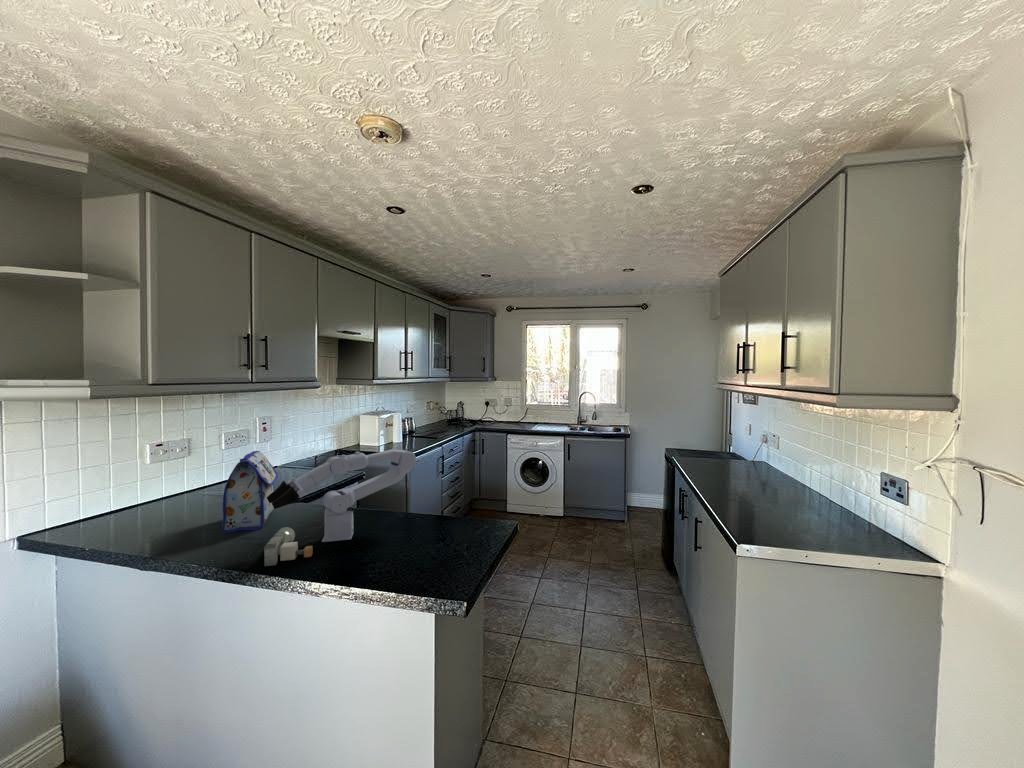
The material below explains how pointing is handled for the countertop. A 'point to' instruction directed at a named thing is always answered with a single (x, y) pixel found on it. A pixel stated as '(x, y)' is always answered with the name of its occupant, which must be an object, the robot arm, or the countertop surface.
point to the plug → (294, 551)
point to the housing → (277, 545)
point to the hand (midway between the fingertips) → (270, 503)
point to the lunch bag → (248, 494)
